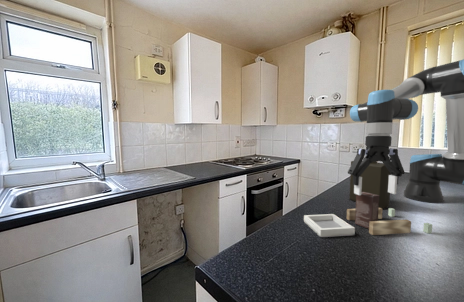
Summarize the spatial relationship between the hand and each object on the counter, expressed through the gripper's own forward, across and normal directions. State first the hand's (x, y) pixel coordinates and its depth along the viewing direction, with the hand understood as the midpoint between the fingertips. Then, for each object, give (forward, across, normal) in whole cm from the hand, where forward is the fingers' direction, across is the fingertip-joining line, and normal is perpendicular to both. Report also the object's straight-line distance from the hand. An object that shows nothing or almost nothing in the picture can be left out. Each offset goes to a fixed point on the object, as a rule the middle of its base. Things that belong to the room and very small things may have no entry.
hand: (374, 193), depth 74 cm
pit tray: (+12, +18, 0) cm, 21 cm away
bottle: (+12, -16, -22) cm, 30 cm away
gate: (+12, -14, 0) cm, 19 cm away
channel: (+12, -1, 0) cm, 12 cm away
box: (+12, +3, 0) cm, 12 cm away
